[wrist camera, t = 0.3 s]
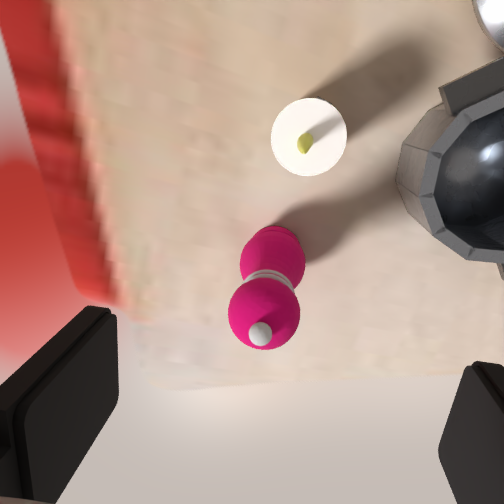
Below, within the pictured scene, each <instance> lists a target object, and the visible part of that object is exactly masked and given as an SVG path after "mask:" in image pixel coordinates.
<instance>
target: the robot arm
mask: <svg viewBox="0 0 504 504" xmlns="http://www.w3.org/2000/svg"><path fill="white" fill-rule="evenodd" d="M118 396H119V383H118V344H117V317H116V315H114V314H111V311H110V309H109V308H103V307H96V306H87V307H85V308H84V309H83V310H82V311H81V312H80V313H79V314H77V315H76V316H75V317H74V318H73V319H72V320H71V321H70V322H69V323H68V324H67V325H66V326H64V327H63V328H62V329H61V330H60V331H59V332H58V333H57V334H56V335H55V336H53V337H52V338H51V339H50V340H49V341H48V342H47V343H46V344H45V345H44V346H43V347H42V348H41V349H40V350H38V351H37V352H36V353H35V354H34V355H33V356H32V357H31V358H30V359H29V360H27V361H26V362H25V363H24V364H23V365H22V366H21V367H20V368H19V369H18V370H17V371H15V372H14V374H12V375H11V376H10V377H9V378H8V379H7V380H6V381H5V382H4V383H3V384H1V385H0V504H55V503H56V502H57V500H58V499H59V497H60V495H61V494H62V492H63V491H64V489H65V488H66V486H67V484H68V482H69V481H70V479H71V478H72V476H73V475H74V473H75V471H76V470H77V468H78V467H79V465H80V463H81V462H82V460H83V458H84V457H85V455H86V454H87V452H88V450H89V449H90V447H91V446H92V444H93V442H94V441H95V439H96V437H97V436H98V434H99V432H100V431H101V429H102V428H103V426H104V425H105V423H106V421H107V419H108V418H109V416H110V415H111V413H112V412H113V410H114V408H115V406H116V404H117V401H118ZM438 453H439V459H440V462H441V465H442V467H443V469H444V472H445V475H446V477H447V479H448V482H449V484H450V487H451V489H452V492H453V494H454V497H455V499H456V502H457V504H504V367H503V366H502V365H500V364H494V363H487V362H480V361H476V362H474V363H473V364H472V366H467V367H466V368H465V370H464V372H463V375H462V378H461V381H460V384H459V387H458V390H457V393H456V396H455V399H454V402H453V405H452V408H451V411H450V414H449V416H448V419H447V422H446V425H445V428H444V431H443V434H442V437H441V440H440V443H439V448H438Z"/></svg>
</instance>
